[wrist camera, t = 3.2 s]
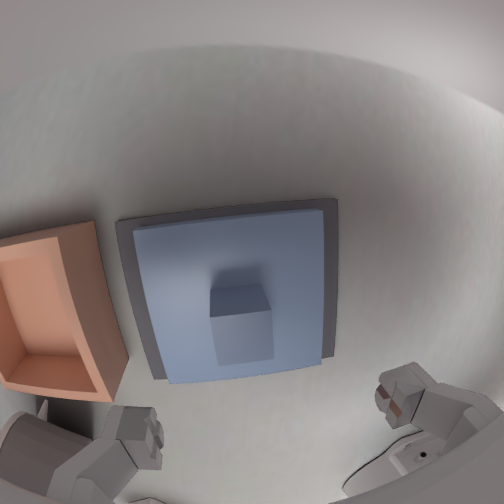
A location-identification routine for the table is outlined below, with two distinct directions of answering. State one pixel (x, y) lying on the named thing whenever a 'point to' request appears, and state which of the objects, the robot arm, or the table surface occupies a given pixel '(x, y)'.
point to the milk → (147, 501)
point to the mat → (128, 226)
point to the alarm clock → (35, 450)
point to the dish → (58, 316)
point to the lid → (235, 293)
